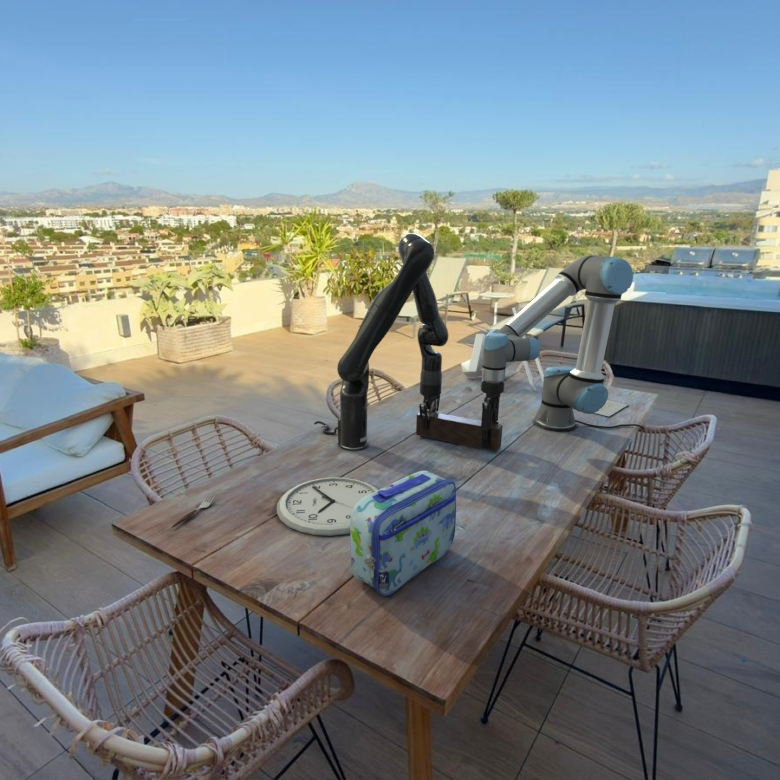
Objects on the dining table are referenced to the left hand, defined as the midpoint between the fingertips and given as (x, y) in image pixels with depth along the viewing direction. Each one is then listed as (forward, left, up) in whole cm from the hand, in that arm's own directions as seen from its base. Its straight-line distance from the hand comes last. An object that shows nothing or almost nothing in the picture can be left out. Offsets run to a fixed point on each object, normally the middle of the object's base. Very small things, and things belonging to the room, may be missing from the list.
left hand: (428, 426), depth 189 cm
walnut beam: (+11, +1, -3) cm, 12 cm away
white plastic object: (-1, +80, -4) cm, 80 cm away
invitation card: (+48, +72, -4) cm, 86 cm away
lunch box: (+30, -72, -4) cm, 78 cm away
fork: (-28, -81, -4) cm, 86 cm away
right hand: (+22, +2, -3) cm, 22 cm away
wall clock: (0, -58, -4) cm, 58 cm away
